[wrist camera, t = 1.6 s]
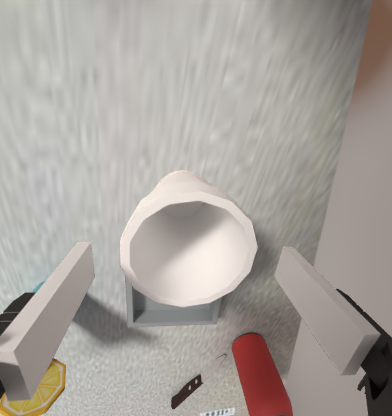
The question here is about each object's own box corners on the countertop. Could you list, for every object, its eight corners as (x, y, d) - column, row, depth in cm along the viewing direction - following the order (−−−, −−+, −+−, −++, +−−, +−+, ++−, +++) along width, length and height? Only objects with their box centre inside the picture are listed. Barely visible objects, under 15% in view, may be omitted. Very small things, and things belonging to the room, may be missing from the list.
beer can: (268, 332, 39) (307, 415, 28) (256, 354, 41) (286, 438, 30) (237, 329, 37) (265, 416, 26) (226, 352, 40) (247, 440, 29)
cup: (9, 315, 30) (-128, 478, 16) (-12, 275, 27) (-202, 433, 13) (105, 306, 31) (54, 449, 18) (95, 267, 28) (24, 403, 15)
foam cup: (210, 229, 28) (239, 307, 16) (143, 224, 27) (120, 306, 15) (223, 161, 24) (272, 198, 13) (146, 152, 23) (119, 183, 11)
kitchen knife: (174, 398, 44) (174, 410, 42) (170, 397, 44) (170, 409, 42) (226, 351, 40) (228, 362, 38) (222, 349, 39) (225, 360, 37)
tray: (128, 238, 27) (123, 251, 24) (225, 240, 29) (230, 252, 26) (131, 310, 32) (127, 327, 29) (213, 308, 34) (216, 324, 31)
